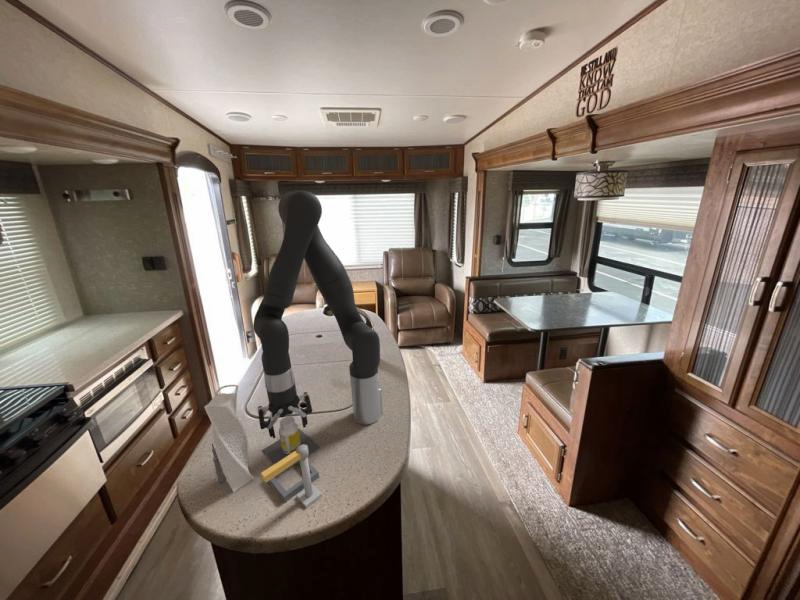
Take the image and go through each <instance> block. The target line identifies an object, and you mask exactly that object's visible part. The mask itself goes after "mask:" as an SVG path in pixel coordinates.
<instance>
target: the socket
mask: <svg viewBox="0 0 800 600" xmlns="http://www.w3.org/2000/svg"><path fill="white" fill-rule="evenodd" d="M308 457H309V456H308ZM308 457H307V458H306V459H303V460H299V461H297V462H296V463H294V464H293V465H291V466H290V467H288V468H287V469H286V470H284V471H283V472H281V473H280V474H278V475H277V476H275V477H274V478H272V479H271V480H269V481H268V482H267V483H269V484H270V486H271V487H272V488H273V489H274V491H275V492H276V493H277V495H278V496H279V497H280V498H281V500H282V501H283V502H284V503H287V502H289V500H291V499H292V498H294V497H295V496H296V498H297V500H298V501H300V503H301V504H302V505H303V506H304V507H305V509H307V508H309V507H310V506H311V505H313V504H314V503H315V502H316V501H318V500H319V499H320V498H321V497H323V493H322V492H321V491H320V490H319V489H318V488H317V487H316V485H314V484H313V483H314V482H315V481H316V480H317V479H319V478H320V473H319V471H318V470H317V469H316V468H315V467H314V466H313V465H312V464H311V463H310V462H309V458H308ZM297 464H298V465H300V469H301V470H300V471H301V476H302V479H301V480H299V481H298V482H296V483H295V484H293V486H291V487H289V488H288V489H287V490H286V489H285V487H284V486H283V485H282V484H281V483H280V482H279V481H278V480H277V478H278V477H280V476H281V475H283V474H284V473H285V472H287V471H288V470H290V469H291V468H293V467H294V466H296V465H297Z"/></svg>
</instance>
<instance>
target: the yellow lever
mask: <svg viewBox="0 0 800 600" xmlns="http://www.w3.org/2000/svg"><path fill="white" fill-rule="evenodd" d="M307 457H309V452H308V446H307V445H305V444H303V445H300V446H298V447H297V449H296V451H294V452H293V453H291V454H290V455H288V456H287V457H285V458H284V459H282V460H280V461H279V462H277V463H276V464H274V463H273V464H272V465H271V466H269V467H268V468H267V469H265V470H263V471H262V472H261V473H260V474H261V478H262V480H263V482H264V483H269V482H268V481H269V480H271V479H272V478H274V477H275V476H277V475H278V474H280V473H281V472H283V471H284V470H286V469H287V468H288V467H290V466H291V465H293V464H294V463H296V462H297V461H299V460H303V459H306V458H307Z"/></svg>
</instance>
